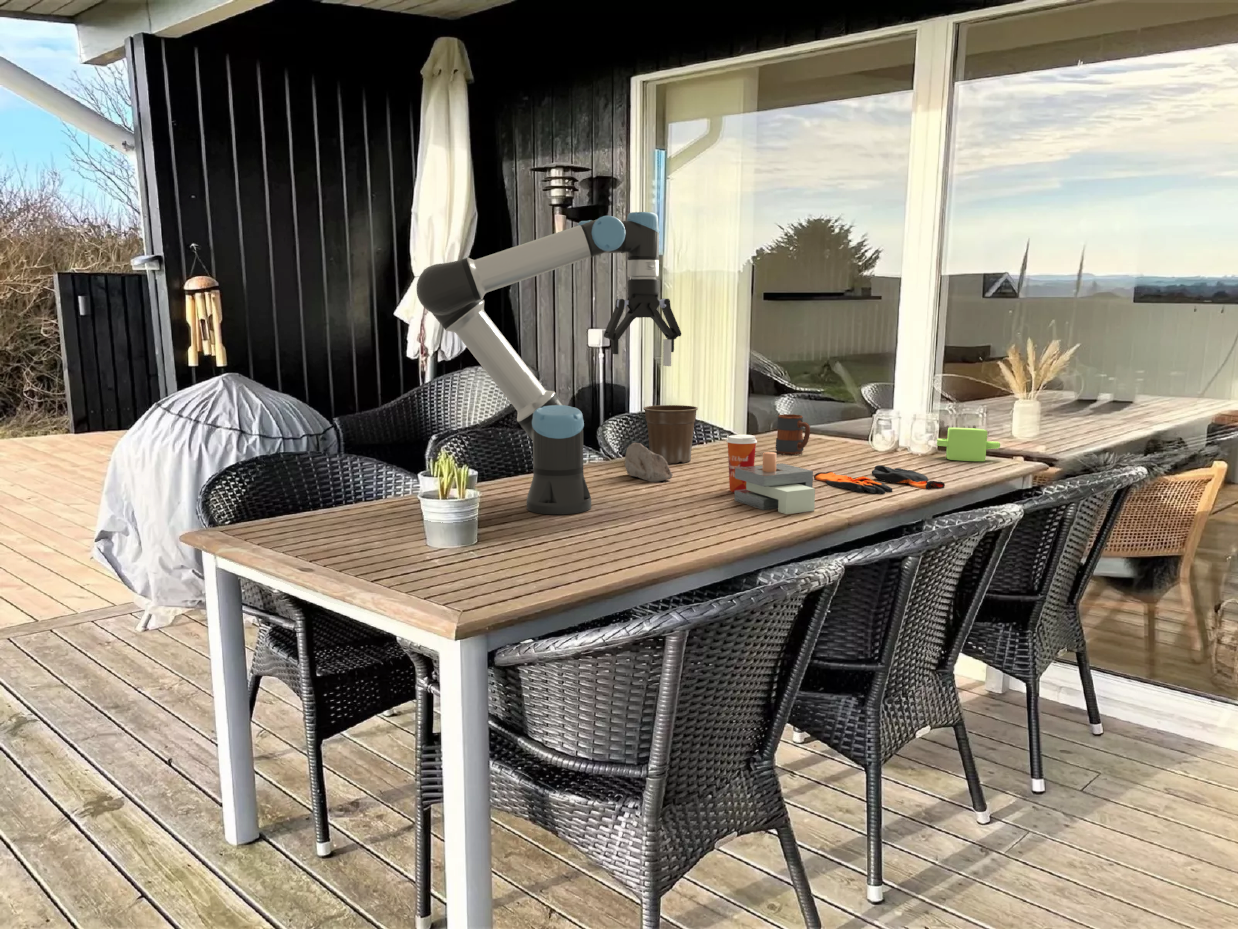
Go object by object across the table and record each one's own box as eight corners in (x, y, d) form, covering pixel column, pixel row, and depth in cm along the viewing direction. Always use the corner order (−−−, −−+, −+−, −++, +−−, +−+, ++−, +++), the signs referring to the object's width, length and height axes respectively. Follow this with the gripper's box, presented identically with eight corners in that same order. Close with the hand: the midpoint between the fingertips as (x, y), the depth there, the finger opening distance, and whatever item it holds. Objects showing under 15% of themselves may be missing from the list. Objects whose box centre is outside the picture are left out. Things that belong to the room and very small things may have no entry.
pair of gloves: (865, 498, 244) (865, 484, 243) (808, 481, 266) (808, 468, 265) (951, 488, 255) (952, 476, 254) (889, 473, 277) (890, 461, 276)
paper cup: (719, 491, 250) (720, 436, 248) (737, 486, 256) (738, 433, 253) (744, 495, 245) (745, 439, 242) (762, 490, 250) (763, 436, 248)
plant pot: (646, 455, 304) (646, 403, 302) (698, 456, 302) (699, 404, 299) (640, 464, 289) (640, 410, 286) (695, 466, 286) (696, 410, 284)
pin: (759, 502, 237) (760, 452, 235) (770, 500, 238) (771, 451, 236) (767, 504, 234) (768, 454, 232) (778, 503, 235) (779, 453, 233)
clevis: (763, 510, 228) (764, 476, 227) (734, 500, 239) (734, 467, 237) (811, 504, 234) (813, 470, 233) (781, 495, 245) (782, 463, 244)
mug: (799, 457, 301) (800, 419, 299) (769, 452, 310) (770, 415, 308) (817, 454, 307) (818, 416, 305) (787, 449, 316) (788, 413, 314)
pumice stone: (675, 481, 264) (675, 444, 262) (653, 484, 259) (653, 447, 258) (640, 473, 276) (640, 437, 274) (619, 476, 271) (618, 440, 270)
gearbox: (997, 459, 300) (999, 428, 299) (1001, 463, 290) (1004, 431, 289) (935, 455, 304) (937, 425, 303) (937, 459, 295) (939, 428, 293)
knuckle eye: (786, 514, 224) (786, 491, 223) (746, 501, 238) (746, 480, 237) (814, 510, 227) (815, 488, 226) (773, 498, 241) (773, 477, 241)
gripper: (603, 278, 228) (603, 369, 232) (695, 278, 240) (694, 366, 243) (589, 278, 235) (590, 367, 239) (679, 278, 246) (679, 364, 250)
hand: (643, 367), depth 241 cm, fingers open, 13 cm apart
